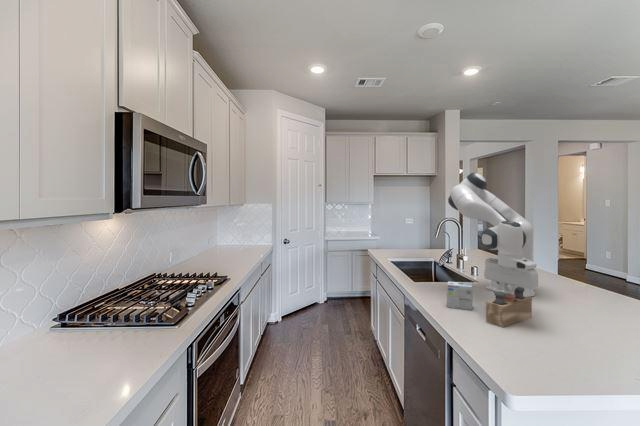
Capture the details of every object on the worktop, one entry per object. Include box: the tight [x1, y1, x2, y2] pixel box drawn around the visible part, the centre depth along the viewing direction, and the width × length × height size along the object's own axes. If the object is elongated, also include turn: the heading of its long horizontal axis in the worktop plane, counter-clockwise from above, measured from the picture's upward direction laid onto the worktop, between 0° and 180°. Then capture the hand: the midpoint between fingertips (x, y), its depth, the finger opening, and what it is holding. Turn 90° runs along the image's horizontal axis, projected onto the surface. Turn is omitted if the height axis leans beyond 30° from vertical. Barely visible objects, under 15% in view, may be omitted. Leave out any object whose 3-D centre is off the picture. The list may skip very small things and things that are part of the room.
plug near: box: [493, 291, 506, 305], centre depth 128 cm, size 4×4×8 cm
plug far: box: [514, 287, 524, 300], centre depth 135 cm, size 4×4×8 cm
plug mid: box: [505, 294, 515, 302], centre depth 132 cm, size 4×4×8 cm
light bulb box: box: [446, 281, 473, 311], centre depth 148 cm, size 11×7×11 cm, turn 65°
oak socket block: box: [485, 296, 533, 328], centre depth 132 cm, size 7×21×8 cm, turn 121°
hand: (509, 294), depth 132 cm, fingers closed, pressing on plug mid
